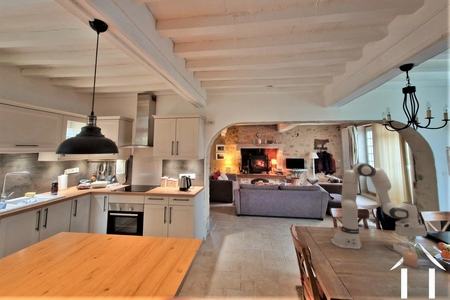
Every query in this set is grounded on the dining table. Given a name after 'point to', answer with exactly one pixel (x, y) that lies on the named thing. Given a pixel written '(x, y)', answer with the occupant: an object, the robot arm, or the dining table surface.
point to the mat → (402, 254)
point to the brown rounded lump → (410, 258)
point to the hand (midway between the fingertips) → (411, 241)
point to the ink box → (405, 247)
